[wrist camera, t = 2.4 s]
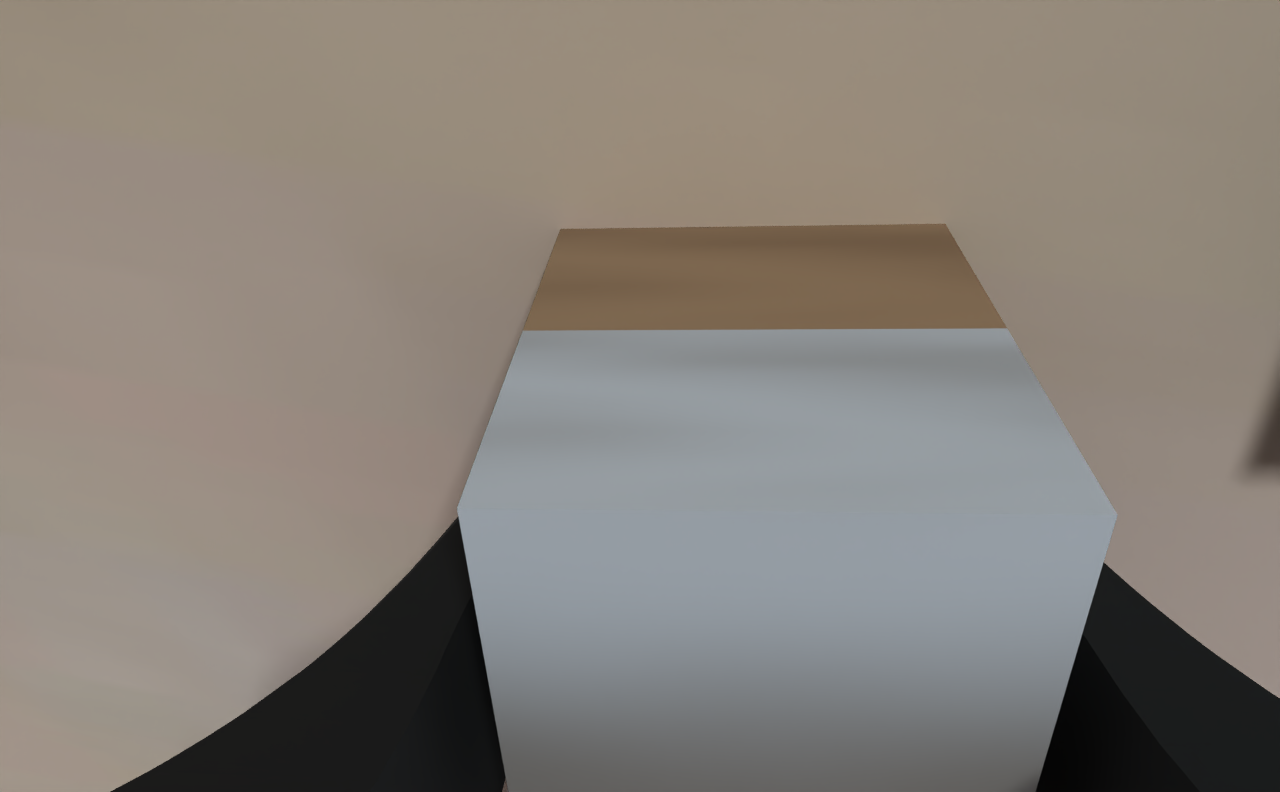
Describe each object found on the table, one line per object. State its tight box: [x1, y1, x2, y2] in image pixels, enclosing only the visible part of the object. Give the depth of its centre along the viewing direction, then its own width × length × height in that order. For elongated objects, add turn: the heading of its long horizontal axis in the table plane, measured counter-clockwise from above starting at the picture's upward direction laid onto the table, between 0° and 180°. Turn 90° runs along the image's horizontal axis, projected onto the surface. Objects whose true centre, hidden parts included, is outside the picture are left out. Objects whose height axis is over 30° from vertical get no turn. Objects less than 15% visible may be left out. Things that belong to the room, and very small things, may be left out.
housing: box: [457, 224, 1117, 792], centre depth 12 cm, size 8×5×6 cm, turn 2°
